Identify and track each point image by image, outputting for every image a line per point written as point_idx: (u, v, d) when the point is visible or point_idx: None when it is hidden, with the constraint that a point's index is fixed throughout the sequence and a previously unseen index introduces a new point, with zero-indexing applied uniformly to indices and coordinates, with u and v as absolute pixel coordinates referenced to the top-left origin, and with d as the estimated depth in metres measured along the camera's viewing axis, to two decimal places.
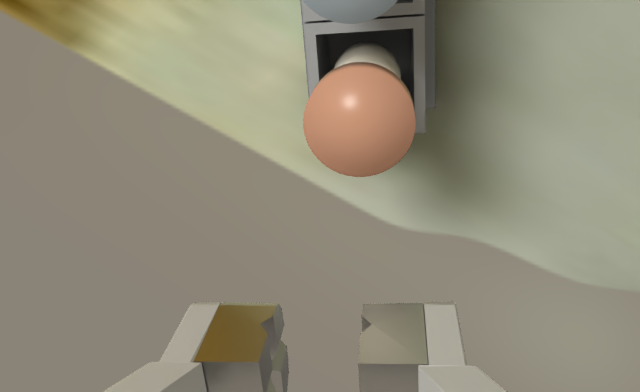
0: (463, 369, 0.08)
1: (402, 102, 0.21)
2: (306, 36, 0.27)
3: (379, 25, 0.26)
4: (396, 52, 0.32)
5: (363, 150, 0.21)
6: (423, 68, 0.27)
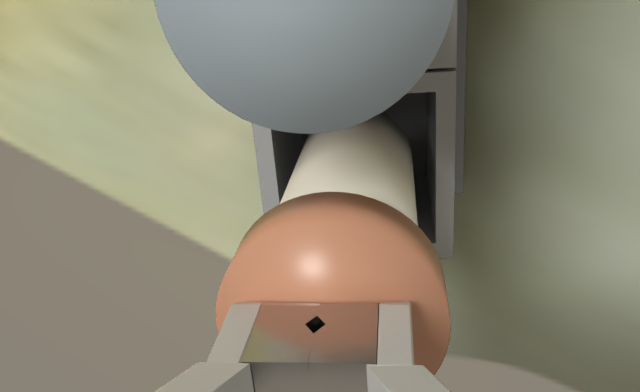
0: (410, 368, 0.08)
1: (423, 290, 0.10)
2: None
3: None
4: (404, 111, 0.20)
5: None
6: (452, 157, 0.16)
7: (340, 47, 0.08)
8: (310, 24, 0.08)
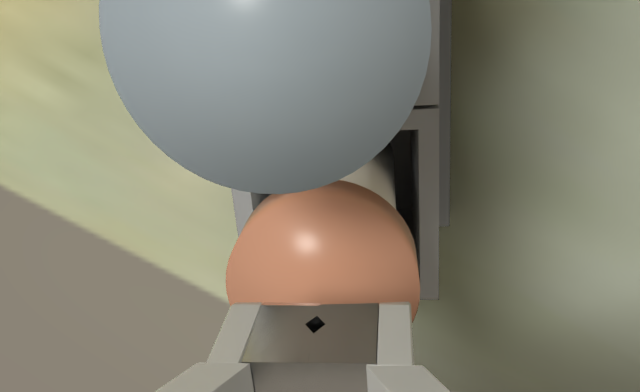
0: (409, 368, 0.08)
1: (397, 257, 0.12)
2: None
3: None
4: None
5: None
6: (436, 196, 0.15)
7: (307, 103, 0.07)
8: (273, 79, 0.07)
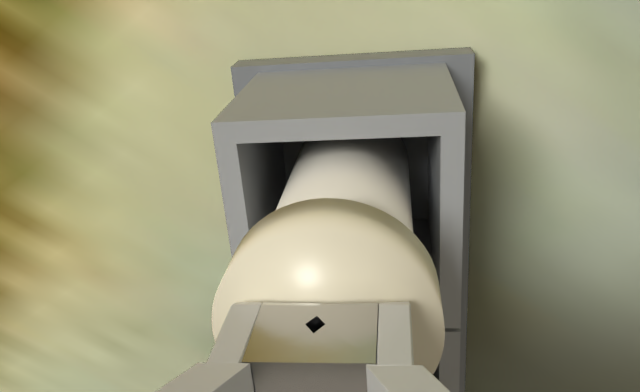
0: (409, 368, 0.08)
1: None
2: None
3: None
4: None
5: None
6: None
7: None
8: None
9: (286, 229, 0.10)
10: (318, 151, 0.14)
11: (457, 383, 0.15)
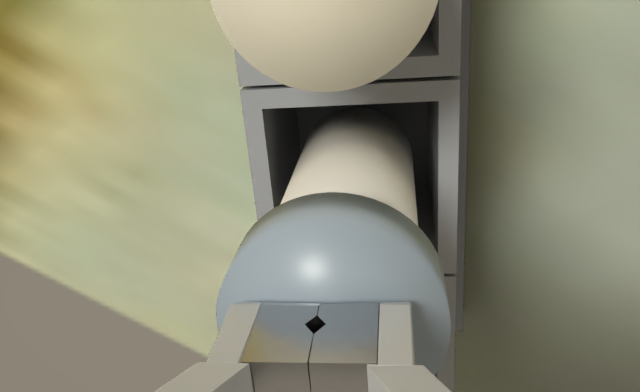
0: (410, 368, 0.08)
1: None
2: None
3: None
4: None
5: None
6: (452, 344, 0.17)
7: None
8: None
9: None
10: None
11: (456, 142, 0.15)
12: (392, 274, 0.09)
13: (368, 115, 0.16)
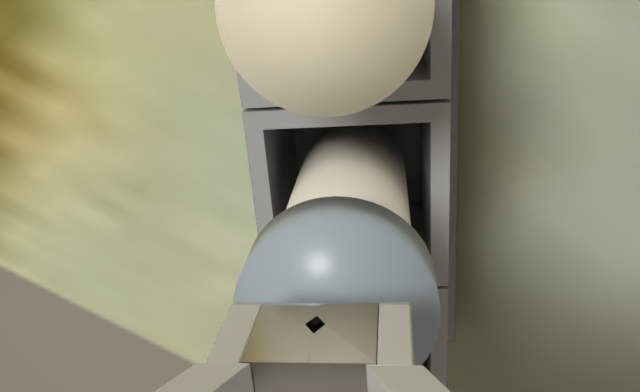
0: (410, 368, 0.08)
1: None
2: None
3: None
4: None
5: None
6: (445, 353, 0.18)
7: None
8: None
9: None
10: None
11: (448, 161, 0.15)
12: (389, 267, 0.11)
13: (364, 128, 0.17)
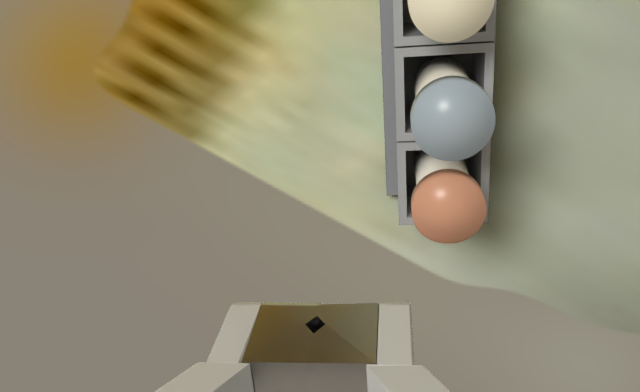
0: (409, 368, 0.08)
1: (478, 197, 0.32)
2: (398, 151, 0.35)
3: None
4: None
5: (450, 226, 0.32)
6: (488, 176, 0.35)
7: (462, 137, 0.29)
8: (454, 131, 0.29)
9: None
10: None
11: (493, 71, 0.32)
12: (476, 99, 0.28)
13: (448, 59, 0.34)
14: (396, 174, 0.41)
